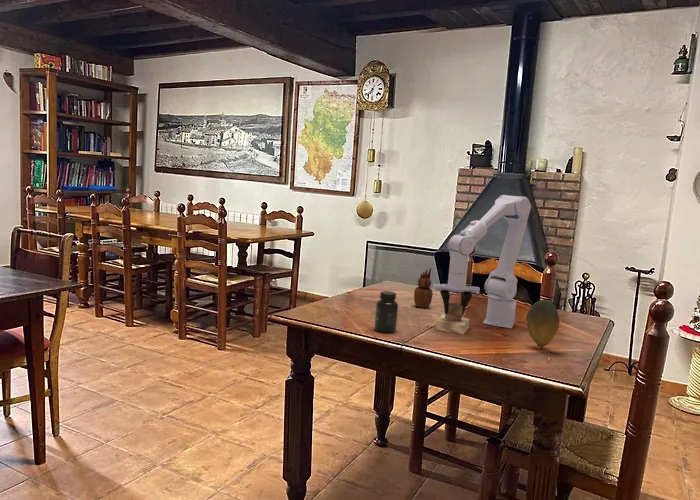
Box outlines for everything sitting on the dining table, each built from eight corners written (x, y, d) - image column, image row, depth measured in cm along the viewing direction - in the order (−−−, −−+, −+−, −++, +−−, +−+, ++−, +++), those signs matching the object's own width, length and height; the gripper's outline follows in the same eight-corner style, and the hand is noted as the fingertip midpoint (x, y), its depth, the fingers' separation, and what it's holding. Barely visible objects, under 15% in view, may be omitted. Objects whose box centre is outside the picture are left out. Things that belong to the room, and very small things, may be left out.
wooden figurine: (431, 306, 200) (435, 267, 198) (431, 309, 194) (435, 269, 192) (413, 304, 201) (416, 265, 199) (412, 307, 195) (416, 268, 193)
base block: (468, 327, 174) (469, 318, 174) (463, 334, 166) (464, 325, 165) (441, 323, 177) (442, 314, 177) (435, 329, 169) (436, 320, 169)
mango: (558, 351, 156) (565, 301, 154) (550, 355, 152) (557, 304, 149) (527, 342, 162) (533, 294, 160) (518, 346, 158) (524, 297, 156)
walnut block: (458, 318, 174) (459, 303, 173) (461, 321, 169) (462, 306, 169) (445, 317, 174) (446, 302, 173) (447, 320, 169) (449, 305, 168)
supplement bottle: (370, 327, 166) (373, 290, 165) (390, 326, 169) (393, 290, 167) (379, 333, 160) (382, 295, 158) (399, 333, 163) (403, 295, 161)
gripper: (477, 271, 173) (473, 311, 175) (433, 268, 173) (429, 309, 175) (482, 275, 166) (478, 317, 168) (437, 272, 166) (433, 314, 168)
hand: (453, 313), depth 171 cm, fingers closed on walnut block, 4 cm apart
